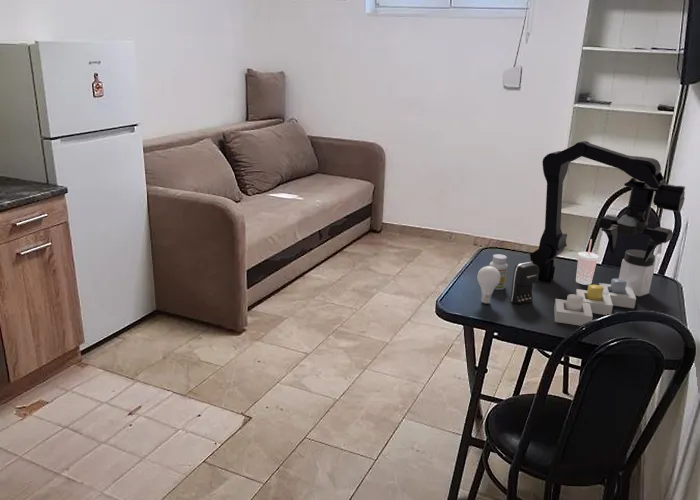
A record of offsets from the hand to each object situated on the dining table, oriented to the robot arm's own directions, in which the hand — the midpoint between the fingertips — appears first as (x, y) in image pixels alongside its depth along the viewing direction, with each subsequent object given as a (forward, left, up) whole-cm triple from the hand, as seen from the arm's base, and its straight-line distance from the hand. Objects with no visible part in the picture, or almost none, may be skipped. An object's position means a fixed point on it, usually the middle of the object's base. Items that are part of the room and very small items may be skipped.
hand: (628, 257), depth 176 cm
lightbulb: (-37, -18, -13) cm, 43 cm away
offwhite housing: (-14, -19, -13) cm, 27 cm away
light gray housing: (-1, -1, -13) cm, 13 cm away
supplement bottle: (-35, -4, -13) cm, 38 cm away
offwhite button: (-14, -19, -11) cm, 26 cm away
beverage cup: (-9, +11, -13) cm, 20 cm away
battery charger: (-27, -13, -13) cm, 33 cm away
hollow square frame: (-8, -9, -13) cm, 18 cm away
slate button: (-1, -1, -11) cm, 11 cm away
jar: (+5, +9, -13) cm, 17 cm away
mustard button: (-8, -9, -11) cm, 16 cm away
